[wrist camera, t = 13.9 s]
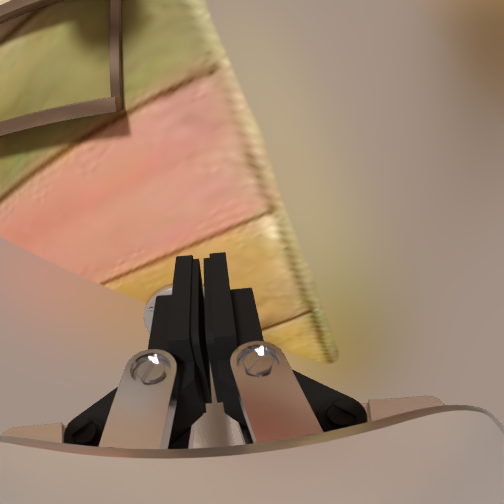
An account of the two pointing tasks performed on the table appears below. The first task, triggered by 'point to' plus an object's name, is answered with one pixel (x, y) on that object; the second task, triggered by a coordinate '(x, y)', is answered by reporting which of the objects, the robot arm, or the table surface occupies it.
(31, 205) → the table surface
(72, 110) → the walnut open-sided frame
